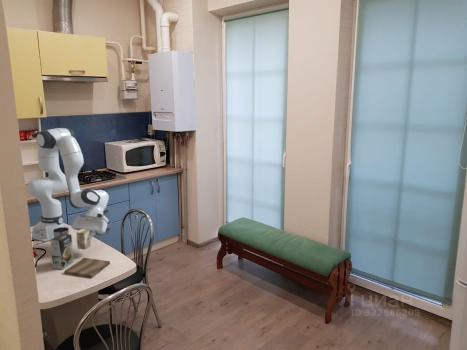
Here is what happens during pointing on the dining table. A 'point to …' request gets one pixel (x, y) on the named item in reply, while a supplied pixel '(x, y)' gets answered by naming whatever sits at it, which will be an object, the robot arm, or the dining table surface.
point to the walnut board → (87, 267)
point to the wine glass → (60, 231)
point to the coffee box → (62, 251)
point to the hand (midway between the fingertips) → (84, 238)
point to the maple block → (83, 239)
